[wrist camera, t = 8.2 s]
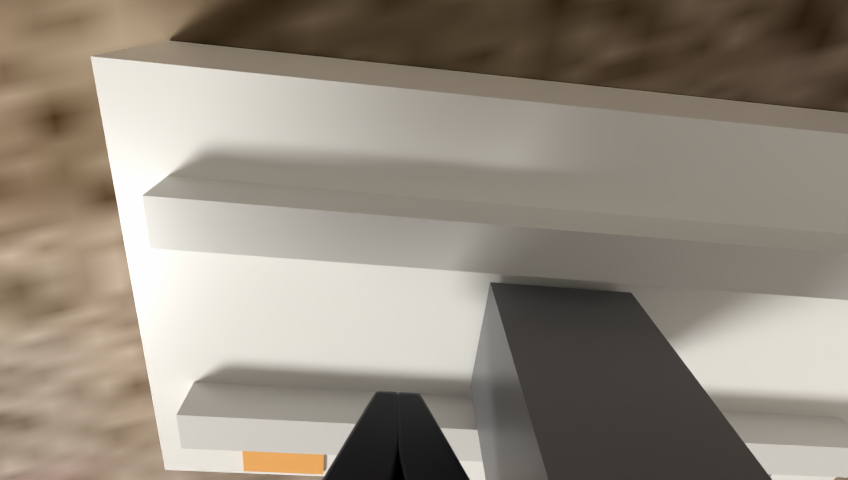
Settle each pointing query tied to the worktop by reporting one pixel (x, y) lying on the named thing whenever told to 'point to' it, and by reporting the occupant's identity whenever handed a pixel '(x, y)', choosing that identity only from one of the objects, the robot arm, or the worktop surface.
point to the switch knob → (592, 394)
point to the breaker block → (460, 244)
